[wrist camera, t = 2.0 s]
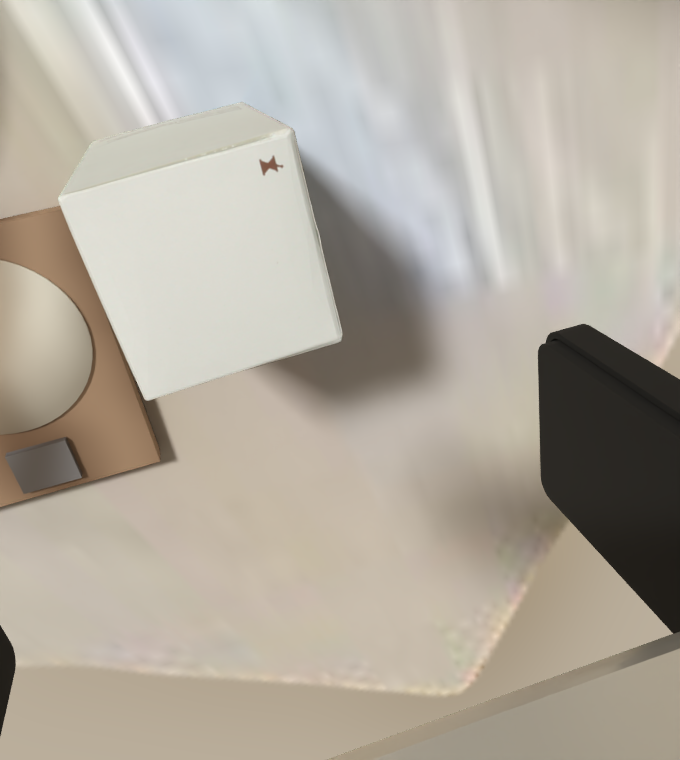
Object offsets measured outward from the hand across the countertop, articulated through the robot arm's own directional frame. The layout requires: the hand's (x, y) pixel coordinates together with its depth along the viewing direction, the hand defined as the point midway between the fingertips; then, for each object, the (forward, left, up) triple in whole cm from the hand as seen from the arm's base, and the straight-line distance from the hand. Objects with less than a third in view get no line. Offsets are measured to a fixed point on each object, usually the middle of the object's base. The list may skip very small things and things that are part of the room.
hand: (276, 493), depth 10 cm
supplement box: (0, 0, -25) cm, 25 cm away
